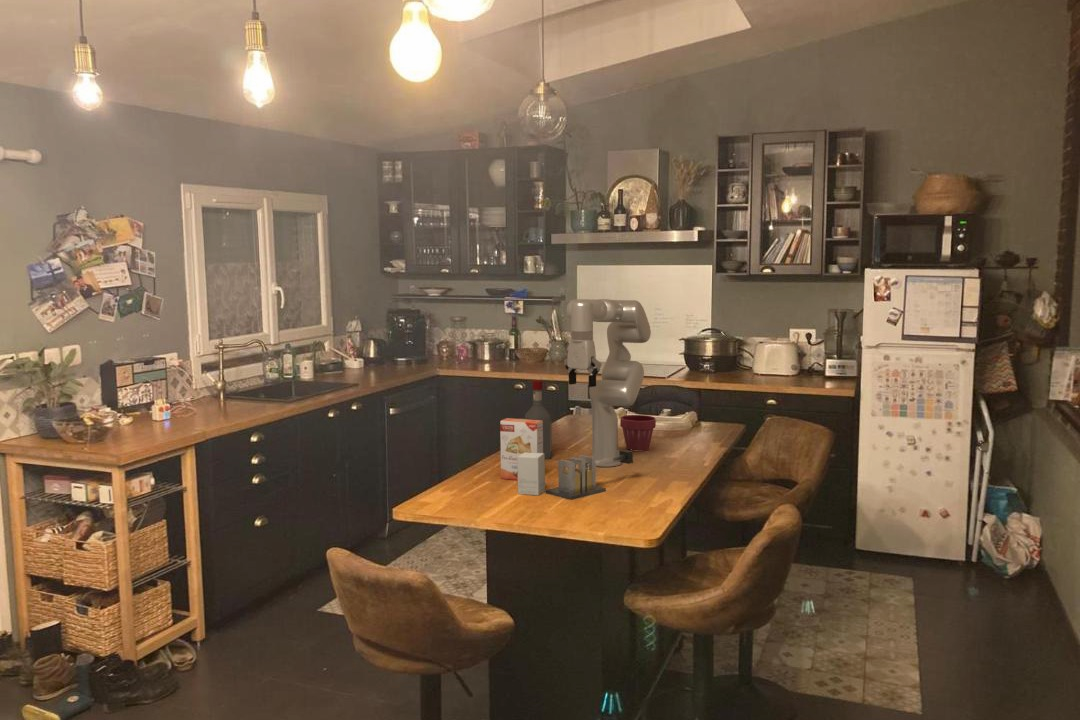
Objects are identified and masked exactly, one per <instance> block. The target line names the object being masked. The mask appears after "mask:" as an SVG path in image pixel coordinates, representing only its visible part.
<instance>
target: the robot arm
mask: <svg viewBox="0 0 1080 720" xmlns="http://www.w3.org/2000/svg"><path fill="white" fill-rule="evenodd" d="M566 314H567V317H568V319H570V320H571V321H570V326H571V327H570V330H571V331H570V334H569V335H570V336H571V337H570V338H571V339H570V340H569V342H568V349H567V357H566V358H564V359H563V364H564V366H565V369H566V372H567V373H568V385H576V384H577V372H576V371H577V370H581V371H587V373H588V374H589V375H588V387H589V393H588V394H589V399H590V404H591V417H592V419H591V420H592V421H591V423H592V424H591V425H592V427H591V431H592V432H591V437H592V439H591V440H592V441H591V442H592V443H591V444H592V448H591V449H592V450H591V451H592V452H591V453H592V454H591V457H595V458H596V460H600V459H605V458H609V457H614V456H618V455H619V451H620V450H619V449H618V448H619V442H618V440H619V439H618V438H619V433H618V432H619V430H618V429H619V425H618V424H619V418H618V414H617V412H616V411H615V408H614V407H631V406H633V405H634V403H635V402H636V401H637V397H638V395H639V393H640V389H641V387H642V384H643V382H644V376H645V368H644V366H643V364H642V362H639V361H637V360H631V359H632V355H631V353H630V351H629V350H628V348H627V347H626V346H625V345H624V344H625V343H630V344H632V343H633V344H645V343H647V342H648V341H649V340H650V338H651V335H652V331H651V326H650V322H649V319H648V317H647V313H646V312H645V309H644V306H643V305H642V303H641V302H640V301H638V300H636V299H635V300H631V299H630V300H628V299H626V300H625V299H624V300H623V299H619V300H618V299H610V298H609V299H608V298H606V299H605V298H603V299H602V298H601V299H595V298H593V299H590V298H589V299H588V298H587V299H584V298H581V299H580V298H577V299H571V300H570V301H569V302H568V303H567V306H566ZM595 322H596V323H609V324H608V326H607V328H606V338H607V345H608V350H609V353H608V356H607V358H606V360H605V363H604V365H603V368H602V369H601V367H602V362H601V361H599V360H598V359H597V354H596V353H597V352H596V346H595V340H594V332H593V331H594V323H595ZM600 369H601V374H600V375H601V379H598V380H597V376H598V373H599V372H600ZM622 464H623V463H622V462H619V461H618V462H614V463H610V464H605V465H601V466H598V468H599V467H600V468H601V467H603V468H605V467H607V468H609V467H617V466H620V465H622Z"/></svg>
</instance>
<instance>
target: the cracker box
mask: <svg viewBox="0 0 1080 720" xmlns="http://www.w3.org/2000/svg"><path fill="white" fill-rule="evenodd" d="M499 425H500V429H499V431H500V432H499V433H500V435H499V436H500V480H501V479H504V480H514V481H518V470H517V457H518V456H519V455H521V454H523V453H524V452H527V453H543V421H542V420H527V419H524V418H512V417H511V418H510V417H509V418H508V417H505V418H504V419H501V420H500V424H499Z"/></svg>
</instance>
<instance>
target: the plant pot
mask: <svg viewBox="0 0 1080 720" xmlns="http://www.w3.org/2000/svg"><path fill="white" fill-rule="evenodd" d="M656 421H657V420H656V417H654V416H652V415H644V414H629V415H627V414H626V415H622V416H621V417H620V421H619V422H620V424H619V425H620V428H622V433H623V438H624V444H625V448H626V449H627V448H628V449H632V450H645V451H648V450H650V445H651V443H652V437H653V432H654V429H656V426H657V425H656ZM628 449H627V450H628ZM647 449H648V450H647ZM632 450H631V451H632Z"/></svg>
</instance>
